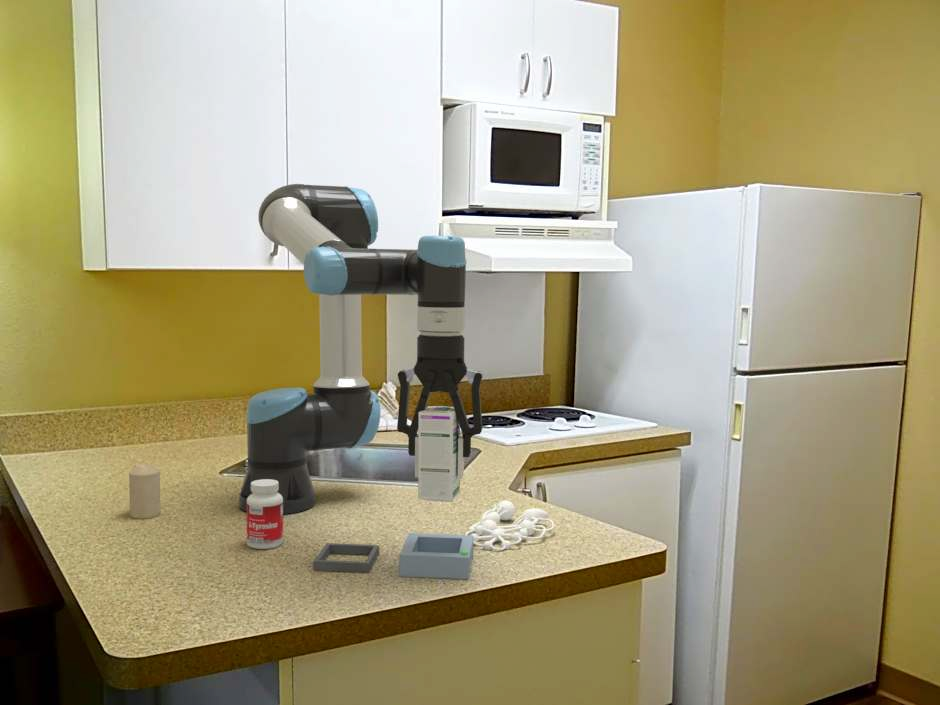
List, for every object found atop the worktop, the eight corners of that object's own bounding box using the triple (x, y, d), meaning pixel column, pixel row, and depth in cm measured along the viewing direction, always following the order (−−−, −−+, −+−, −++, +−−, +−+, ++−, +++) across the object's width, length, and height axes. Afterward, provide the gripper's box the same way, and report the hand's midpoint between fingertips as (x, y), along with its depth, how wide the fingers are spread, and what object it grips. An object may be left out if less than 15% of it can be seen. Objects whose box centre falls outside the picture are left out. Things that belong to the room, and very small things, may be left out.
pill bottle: (243, 550, 143) (243, 486, 142) (250, 538, 149) (249, 477, 148) (280, 549, 144) (280, 486, 143) (285, 538, 150) (285, 477, 149)
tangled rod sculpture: (518, 566, 142) (520, 543, 142) (445, 544, 149) (447, 522, 148) (563, 532, 159) (565, 511, 158) (496, 514, 166) (497, 494, 165)
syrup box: (452, 502, 133) (454, 412, 132) (416, 500, 134) (418, 410, 133) (460, 493, 138) (462, 406, 137) (425, 491, 140) (427, 404, 138)
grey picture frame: (313, 570, 134) (313, 561, 134) (326, 551, 143) (326, 543, 143) (368, 572, 134) (369, 563, 134) (378, 553, 143) (378, 545, 143)
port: (399, 576, 133) (399, 551, 132) (408, 552, 144) (409, 530, 143) (468, 579, 132) (469, 554, 131) (473, 555, 143) (473, 532, 142)
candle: (166, 512, 164) (165, 462, 163) (147, 520, 159) (146, 468, 158) (143, 509, 166) (142, 459, 165) (123, 517, 161) (122, 465, 160)
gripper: (377, 334, 131) (376, 479, 133) (500, 336, 129) (497, 483, 132) (385, 330, 138) (384, 469, 140) (501, 333, 137) (499, 472, 139)
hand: (439, 475), depth 136 cm, fingers closed on syrup box, 6 cm apart
